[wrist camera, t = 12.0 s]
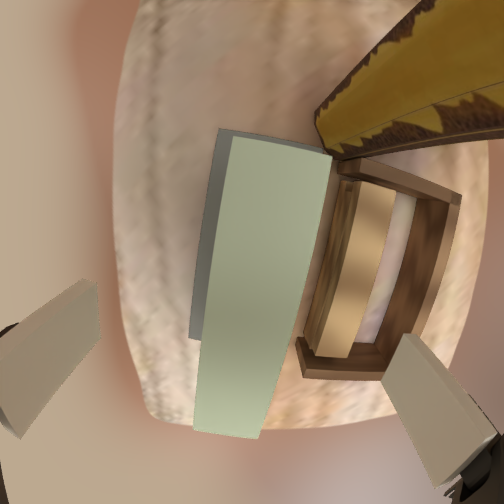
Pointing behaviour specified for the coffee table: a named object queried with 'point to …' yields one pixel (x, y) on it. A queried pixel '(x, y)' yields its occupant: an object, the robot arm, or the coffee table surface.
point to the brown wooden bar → (349, 267)
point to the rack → (409, 280)
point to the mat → (212, 219)
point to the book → (422, 84)
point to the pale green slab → (256, 280)
